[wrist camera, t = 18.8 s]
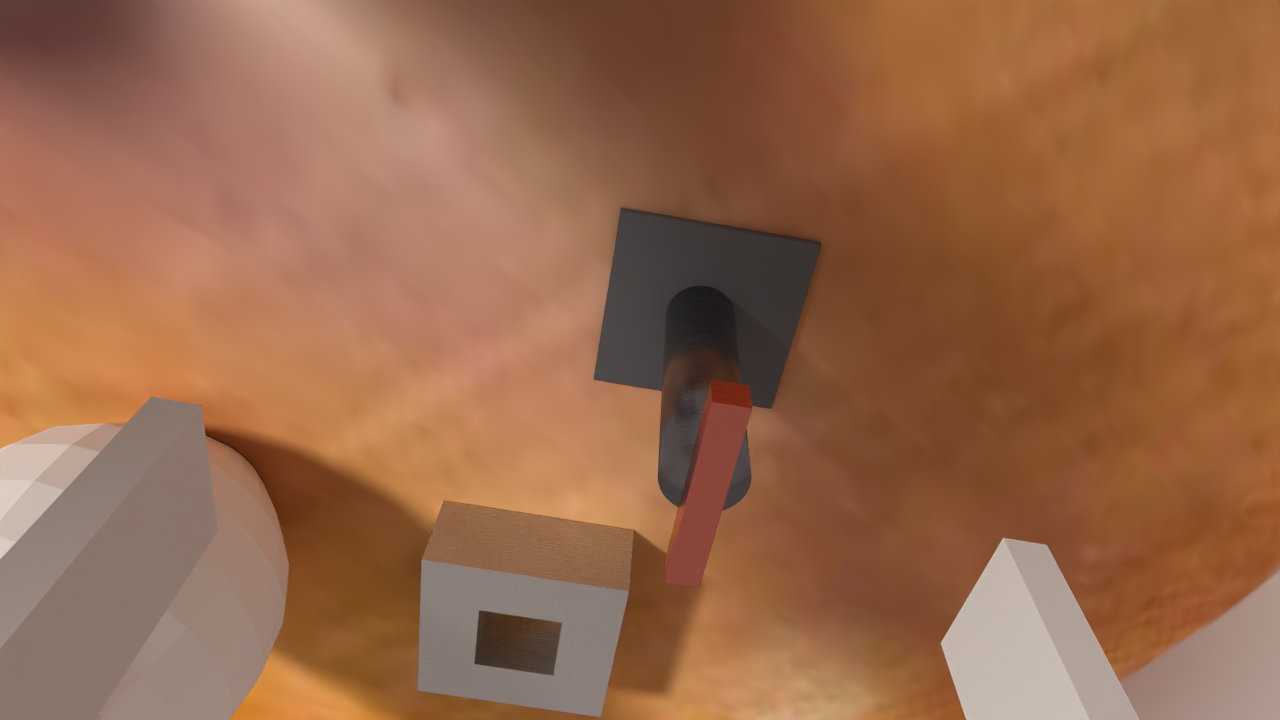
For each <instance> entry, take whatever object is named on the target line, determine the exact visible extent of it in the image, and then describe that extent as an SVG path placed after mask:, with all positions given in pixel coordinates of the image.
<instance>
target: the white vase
mask: <svg viewBox="0 0 1280 720" xmlns="http://www.w3.org/2000/svg"><path fill="white" fill-rule="evenodd" d="M125 425H126V423H103V424H87V425H71V426H55V427H52V428H49V429H47V430H44V431H42V432H39V433H37V434H34V435H32V436H30V437H27V438H25V439H22V440H20V441H17V442H15V443H12V444H10V445H7V446H5V447H3V448H1V449H0V559H1V558H2V557H3V556H4V555H5V554H6V553H7V551H8V550H9V549H10V548H11V547H12V546H13V545H14V544H15V543H16V542H17V541H18V540H19V539H20V537H21V536H22V535H23V534H24V533H25V532H26V531H27V530H28V529H29V528H30V527H31V526H32V525H33V524H34V522H35V521H36V520H37V519H38V518H39V517H40V516H41V515H42V514H43V513H44V512H45V511H46V510H47V508H48V507H49V506H50V505H51V504H52V503H53V502H54V501H55V500H56V499H57V498H58V497H59V496H60V494H61V493H62V492H63V491H64V490H65V489H66V488H67V487H68V486H69V485H70V484H71V483H72V482H73V480H74V479H75V478H76V477H77V476H78V475H79V474H80V473H81V472H82V471H83V470H84V469H85V468H86V466H87V465H88V464H89V463H90V462H91V461H92V460H93V459H94V458H95V457H96V456H97V455H98V454H99V453H100V451H101V450H102V449H103V448H104V447H105V446H106V445H107V444H108V443H109V442H110V441H111V440H112V439H113V437H114V436H115V435H116V434H117V433H118V432H119V431H120V430H121V429H122V428H123V427H124V426H125ZM206 443H207V450H208V458H209V466H210V474H211V482H212V490H213V497H214V505H215V513H216V521H217V529H218V532H217V534H216V535H215V537H214V538H213V540H212V541H211V543H210V544H209V546H208V547H207V549H206V550H205V552H204V554H203V555H202V557H201V558H200V560H199V561H198V563H197V564H196V566H195V567H194V569H193V570H192V572H191V573H190V575H189V577H188V578H187V580H186V581H185V583H184V584H183V586H182V587H181V589H180V590H179V592H178V593H177V595H176V596H175V598H174V599H173V601H172V603H171V604H170V606H169V607H168V609H167V610H166V612H165V613H164V615H163V616H162V618H161V619H160V621H159V622H158V624H157V625H156V627H155V629H154V630H153V632H152V633H151V635H150V636H149V638H148V639H147V641H146V642H145V644H144V645H143V647H142V648H141V650H140V652H139V653H138V655H137V656H136V658H135V659H134V661H133V662H132V664H131V665H130V667H129V668H128V670H127V671H126V673H125V674H124V676H123V678H122V679H121V681H120V682H119V684H118V685H117V687H116V688H115V690H114V691H113V693H112V694H111V696H110V697H109V699H108V700H107V702H106V704H105V705H104V707H103V708H102V710H101V711H100V713H99V714H98V716H97V717H96V719H95V720H230V719H231V717H232V716H233V714H234V713H235V712H236V710H237V709H238V707H239V706H240V705H241V703H242V702H243V700H244V699H245V698H246V696H247V695H248V693H249V692H250V691H251V689H252V688H253V686H254V685H255V683H256V681H257V680H258V678H259V676H260V674H261V672H262V670H263V668H264V666H265V664H266V661H267V659H268V657H269V654H270V652H271V650H272V647H273V645H274V643H275V640H276V638H277V636H278V634H279V631H280V629H281V627H282V624H283V620H284V612H285V604H286V595H287V587H288V573H289V562H288V557H287V553H286V548H285V544H284V539H283V535H282V531H281V528H280V524H279V521H278V517H277V514H276V511H275V508H274V506H273V504H272V501H271V499H270V497H269V494H268V492H267V490H266V488H265V485H264V483H263V482H262V480H261V478H260V477H259V475H258V474H257V472H256V470H255V469H254V467H253V466H252V465H251V464H250V463H249V462H248V461H247V460H246V459H245V458H244V457H243V456H242V455H240V454H239V453H238V452H236V451H235V450H234V449H232V448H231V447H229V446H227V445H225V444H223V443H221V442H219V441H216V440H214V439H212V438H210V437H208V436H206Z"/></svg>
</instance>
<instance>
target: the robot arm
mask: <svg viewBox="0 0 1280 720" xmlns="http://www.w3.org/2000/svg"><path fill="white" fill-rule="evenodd" d="M217 532H218V529H217V521H216V513H215V505H214V497H213V490H212V482H211V474H210V466H209V458H208V450H207V443H206V435H205V427H204V419H203V411H202V405H198V404H192V403H185V402H179V401H173V400H167V399H161V398H155V397H151V398H150V399H149V400H148V401H147V402H146V403H145V404H144V405H143V406H142V407H141V408H140V409H139V411H138V412H137V413H136V414H135V415H134V416H133V417H132V418H131V419H130V420H129V421H128V422H127V423H126V425H125V426H124V427H123V428H122V429H121V430H120V431H119V432H118V433H117V434H116V435H115V436H114V437H113V439H112V440H111V441H110V442H109V443H108V444H107V445H106V446H105V447H104V448H103V449H102V450H101V451H100V453H99V454H98V455H97V456H96V457H95V458H94V459H93V460H92V461H91V462H90V463H89V464H88V465H87V466H86V468H85V469H84V470H83V471H82V472H81V473H80V474H79V475H78V476H77V477H76V478H75V479H74V480H73V482H72V483H71V484H70V485H69V486H68V487H67V488H66V489H65V490H64V491H63V492H62V493H61V494H60V496H59V497H58V498H57V499H56V500H55V501H54V502H53V503H52V504H51V505H50V506H49V507H48V508H47V510H46V511H45V512H44V513H43V514H42V515H41V516H40V517H39V518H38V519H37V520H36V521H35V522H34V524H33V525H32V526H31V527H30V528H29V529H28V530H27V531H26V532H25V533H24V534H23V535H22V536H21V537H20V539H19V540H18V541H17V542H16V543H15V544H14V545H13V546H12V547H11V548H10V549H9V550H8V551H7V553H6V554H5V555H4V556H3V557H2V558H1V559H0V720H95V719H96V717H97V716H98V714H99V713H100V711H101V710H102V708H103V707H104V705H105V704H106V702H107V700H108V699H109V697H110V696H111V694H112V693H113V691H114V690H115V688H116V687H117V685H118V684H119V682H120V681H121V679H122V678H123V676H124V674H125V673H126V671H127V670H128V668H129V667H130V665H131V664H132V662H133V661H134V659H135V658H136V656H137V655H138V653H139V652H140V650H141V648H142V647H143V645H144V644H145V642H146V641H147V639H148V638H149V636H150V635H151V633H152V632H153V630H154V629H155V627H156V625H157V624H158V622H159V621H160V619H161V618H162V616H163V615H164V613H165V612H166V610H167V609H168V607H169V606H170V604H171V603H172V601H173V599H174V598H175V596H176V595H177V593H178V592H179V590H180V589H181V587H182V586H183V584H184V583H185V581H186V580H187V578H188V577H189V575H190V573H191V572H192V570H193V569H194V567H195V566H196V564H197V563H198V561H199V560H200V558H201V557H202V555H203V554H204V552H205V550H206V549H207V547H208V546H209V544H210V543H211V541H212V540H213V538H214V537H215V535H216V534H217ZM941 646H942V649H943V652H944V655H945V658H946V661H947V664H948V667H949V670H950V673H951V676H952V679H953V682H954V685H955V688H956V691H957V694H958V697H959V700H960V703H961V706H962V709H963V712H964V715H965V718H966V720H1139V718H1138V716H1137V714H1136V712H1135V711H1134V709H1133V707H1132V705H1131V703H1130V701H1129V699H1128V697H1127V695H1126V693H1125V691H1124V690H1123V688H1122V686H1121V684H1120V682H1119V680H1118V678H1117V676H1116V674H1115V673H1114V671H1113V669H1112V667H1111V665H1110V663H1109V661H1108V659H1107V658H1106V656H1105V654H1104V652H1103V650H1102V648H1101V646H1100V644H1099V642H1098V641H1097V639H1096V637H1095V635H1094V633H1093V631H1092V629H1091V627H1090V625H1089V624H1088V622H1087V620H1086V618H1085V616H1084V614H1083V612H1082V610H1081V608H1080V607H1079V605H1078V603H1077V601H1076V599H1075V597H1074V595H1073V593H1072V591H1071V590H1070V588H1069V586H1068V584H1067V582H1066V580H1065V578H1064V576H1063V575H1062V573H1061V571H1060V569H1059V567H1058V565H1057V563H1056V561H1055V559H1054V558H1053V556H1052V554H1051V552H1050V550H1049V548H1048V546H1047V545H1045V544H1039V543H1033V542H1027V541H1021V540H1015V539H1009V538H1003V539H1002V541H1001V542H1000V544H999V546H998V548H997V549H996V551H995V553H994V554H993V556H992V558H991V559H990V561H989V563H988V564H987V566H986V568H985V569H984V571H983V573H982V574H981V576H980V578H979V580H978V581H977V583H976V585H975V586H974V588H973V590H972V591H971V593H970V595H969V596H968V598H967V600H966V601H965V603H964V605H963V606H962V608H961V610H960V611H959V613H958V615H957V617H956V618H955V620H954V622H953V623H952V625H951V627H950V628H949V630H948V632H947V633H946V635H945V637H944V638H943V640H942V642H941Z"/></svg>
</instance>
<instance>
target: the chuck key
mask: <svg viewBox="0 0 1280 720" xmlns="http://www.w3.org/2000/svg"><path fill="white" fill-rule="evenodd" d="M751 410H752V404H751V396H750V387H749V386H746V385H742V381H741V372H740V362H739V352H738V343H737V333H736V323H735V314H734V308H733V305H732V303H731V302H730V300H729V299H728V297H727V296H726V295H725V294H723V293H722V292H721V291H719V290H717V289H715V288H712V287H708V286H693V287H689V288H686V289H684V290H682V291H680V292H679V293H677V294H676V295H675V296H674V297H673V298H672V299H671V301H670V302H669V304H668V306H667V309H666V315H665V336H664V358H663V379H662V401H661V422H660V443H659V465H658V482H659V486H660V489H661V491H662V493H663V494H664V495H665V497H666V498H667V499H668V500H669V501H670V502H672V503H673V504H674V505H676V506H678V511H677V515H676V519H675V523H674V527H673V531H672V535H671V539H670V543H669V546H668V550H667V554H666V563H665V583H667V584H674V585H680V586H686V587H693V588H699V587H700V584H701V580H702V577H703V574H704V570H705V567H706V563H707V560H708V557H709V553H710V550H711V546H712V543H713V540H714V536H715V533H716V529H717V526H718V523H719V519H720V516H721V512H722V510H725V509H727V508H730V507H731V506H733V505H735V504H736V503H738V502H739V501H740V500H741V499H742V498H743V497H744V496H745V494H746V493H747V491H748V489H749V487H750V483H751V469H750V459H749V449H748V440H747V430H746V427H747V424H748V420H749V417H750V414H751Z"/></svg>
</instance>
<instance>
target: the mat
mask: <svg viewBox="0 0 1280 720" xmlns="http://www.w3.org/2000/svg"><path fill="white" fill-rule="evenodd" d="M820 248H821V243H820V242H816V241H810V240H804V239H799V238H793V237H787V236H781V235H776V234H770V233H764V232H759V231H753V230H747V229H741V228H736V227H730V226H724V225H718V224H713V223H707V222H701V221H695V220H690V219H684V218H678V217H672V216H667V215H661V214H655V213H649V212H644V211H638V210H632V209H626V208H621V213H620V219H619V225H618V231H617V238H616V244H615V250H614V256H613V262H612V269H611V275H610V281H609V287H608V294H607V300H606V306H605V312H604V318H603V325H602V331H601V337H600V343H599V349H598V356H597V362H596V368H595V374H594V380H599V381H606V382H612V383H618V384H624V385H630V386H636V387H642V388H648V389H654V390H660V391H662V379H663V358H664V336H665V315H666V309H667V306H668V304H669V302H670V301H671V299H672V298H673V297H674V296H675V295H676V294H677V293H679V292H680V291H682V290H684V289H686V288H689V287H693V286H708V287H712V288H715V289H717V290H719V291H721V292H722V293H723V294H725V295H726V296H727V297H728V299H729V300H730V302H731V303H732V305H733V308H734V314H735V323H736V333H737V343H738V352H739V362H740V372H741V381H742V385H746V386H749V387H750V396H751V404H752V406H758V407H764V408H770V409H771V408H772V404H773V401H774V398H775V395H776V391H777V388H778V385H779V382H780V378H781V375H782V372H783V369H784V365H785V362H786V359H787V355H788V352H789V349H790V346H791V342H792V339H793V336H794V333H795V329H796V326H797V323H798V320H799V316H800V313H801V310H802V307H803V303H804V300H805V297H806V294H807V290H808V287H809V284H810V281H811V277H812V274H813V271H814V267H815V264H816V261H817V258H818V254H819V251H820Z"/></svg>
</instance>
